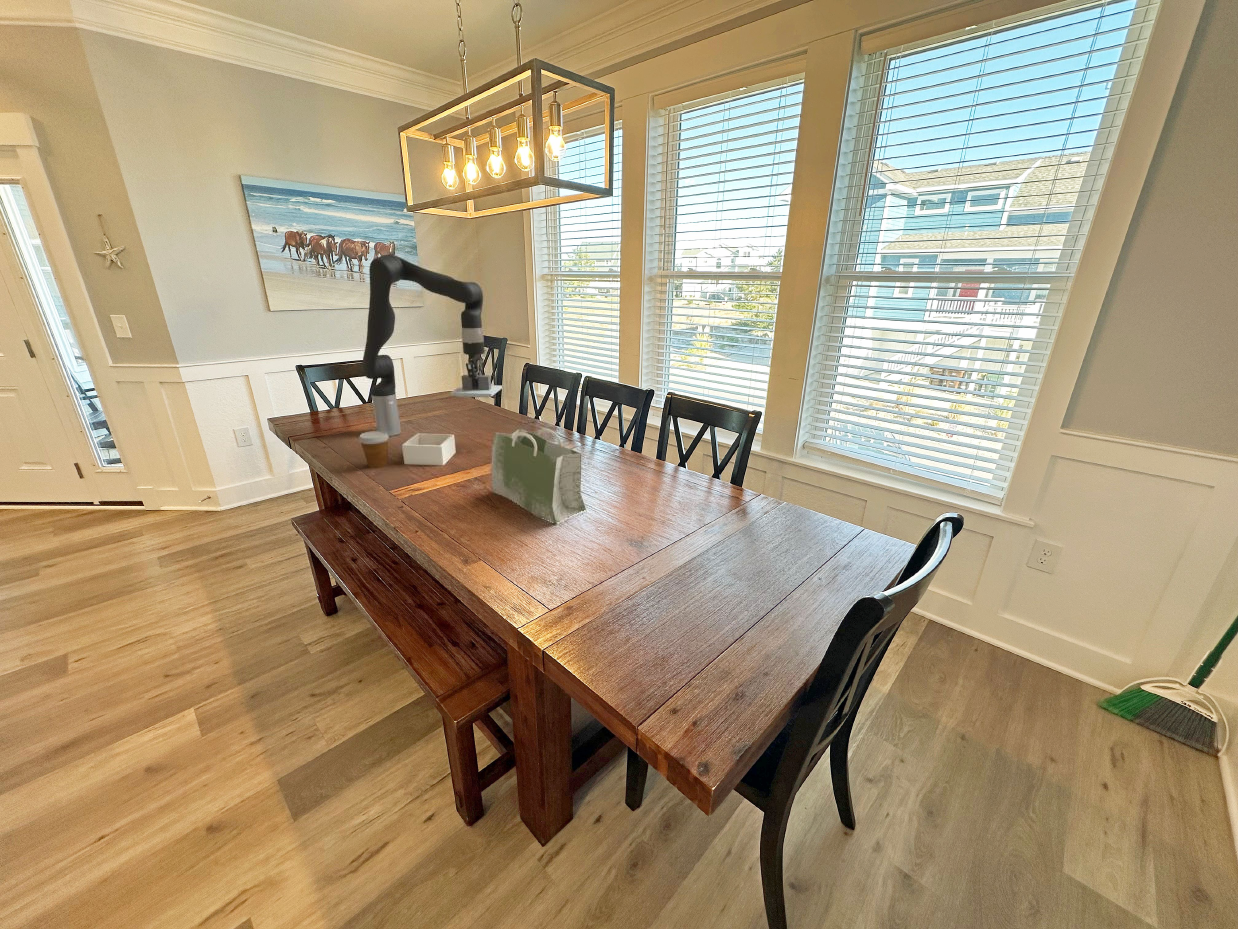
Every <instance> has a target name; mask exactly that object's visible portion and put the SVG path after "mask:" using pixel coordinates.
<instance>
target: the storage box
mask: <svg viewBox="0 0 1238 929" xmlns="http://www.w3.org/2000/svg"><path fill="white" fill-rule="evenodd" d="M401 447H402V448H401V449H402V456H403V462H404V463H403V464H404V465H415V466H416V465H417V466H418V465H419V466H420V465H421V466H424V465H425V466H444V465H445V464H446V463H447V462H448V461H449V460H450V459H451V458H452V457H453V456H454V455H455V454H456V452H457V451H456V441H455V434H450V433H446V434H445V433H424V432H423V433H416V434H414V435H413V436H411V437H410V438H409V439H408V440H407V441H405V442H404V443H403V444H402V445H401Z"/></svg>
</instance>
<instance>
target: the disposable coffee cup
mask: <svg viewBox="0 0 1238 929" xmlns="http://www.w3.org/2000/svg"><path fill="white" fill-rule="evenodd" d="M389 438H390V436H388V435H387V433H386V432H384V431H377V430H372V431H366V432H363V433H361V434H360V435H359V438H358V441H359V442H360V444H361V447H362V451H363V453H364V457H365V460H366V463H367V466H368V467H369V468H372V469H373V468H375V469H377V468H382V467H386V466H387V465H388V464H389Z"/></svg>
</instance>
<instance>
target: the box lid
mask: <svg viewBox="0 0 1238 929" xmlns="http://www.w3.org/2000/svg"><path fill="white" fill-rule="evenodd" d="M491 380H492V379H491V375H490V374H489V375H488V374H487V375H485V374H484V375H483V374H481V375H478V387H479V388H478V389H473V388H472V379H471V378H469V376H468V374H463V375H461V386H459V387H457V388H456V389H454V390H453V391H450V392H449V393H450V396H456V397H457V398H487V399H488V398H490V397H493V396H494V395H495V394H497V393H498V392H499V391H501V390H502V389H503V385H495V384H494V385H492V382H491Z"/></svg>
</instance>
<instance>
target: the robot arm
mask: <svg viewBox="0 0 1238 929" xmlns="http://www.w3.org/2000/svg"><path fill="white" fill-rule="evenodd" d="M368 270H369V302H368V303H369V305H368V306H369V307H368V313H367V314H368V315H367V331H366V341H365V347H364V353H363V358H362V366H361V367H362V372H363V375H364V376H365V378H367V379H369V380H376V379H381V380H380V382H378V383H377V384H375V385H373V386H372V387H371V388H370V395H371V400H372V408H373V413H374V420H375V426H376V431H384V432H386V433H387V435H388V436H389V437H393V436H397V435H400V434H401V423H400V416H399V415H400V414H399V408H398V402H397V394H396V393H397V392H396V378H395V377H396V376H395V367H394V361H393V359H392V356H390V355H388V354H379V353H380V351H381V350H382V348H383V347H384V346H385V344H387V343H388V341H389V340H390V339H391V337H392V336H393V334H394V330H395V324H396V313H395V310H394V308H393V307H392V305H391V302H390V295H391V294H390V293H391V288H392V284H395V283H397V282H399V281H410V282H413V283H416V284H418V285H419V286H421V287H422V288H423V289H425V290H426V291H428V292H430V293H433V294H437V295H440V296H444V297H447V298H450V299H452V300H453V301H456V302H458V303H462V304H464V310H462V312H461V314H460V320H461V322H460V323H461V324H460V325H461V339H462V340H461V341H462V342H461V343H462V352H463V354H464V355H467V356H468V359H467V362H466V363H465V366H466V371H467V375H468V376H469V378H471V379H472V388H473V389H478V388H479V387H478V375H483V374H484V358H481V355H484V354H485V340H484V339H485V338H484V331H483V325H482V324H483V322H482V311H483V302H484V294H483V290H482V287H481V286H480V285H479V283H476V282H474V281H461V280H458V279H455V278H454V277H452V276H449V275H446V274H444V273H439V272H436V271H432V270H429V269H426V268H424V267H421V266H419V265H416V264H414V263H412V262H410V261H408V260H406V259H405V258H402V257H399V256H398V255H394V254H384V255H382V256H378V257H375V258H374V259H372V260H371V262H370V264H369V269H368Z"/></svg>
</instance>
